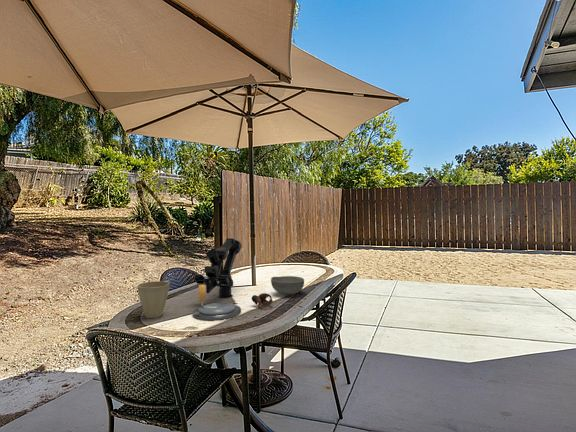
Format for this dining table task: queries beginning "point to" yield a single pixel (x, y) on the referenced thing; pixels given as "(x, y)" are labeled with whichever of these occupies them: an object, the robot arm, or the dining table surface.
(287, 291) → the bowl
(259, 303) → the brown animal figurine
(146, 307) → the plant pot
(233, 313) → the dial plate
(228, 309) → the dial
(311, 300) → the dining table surface
